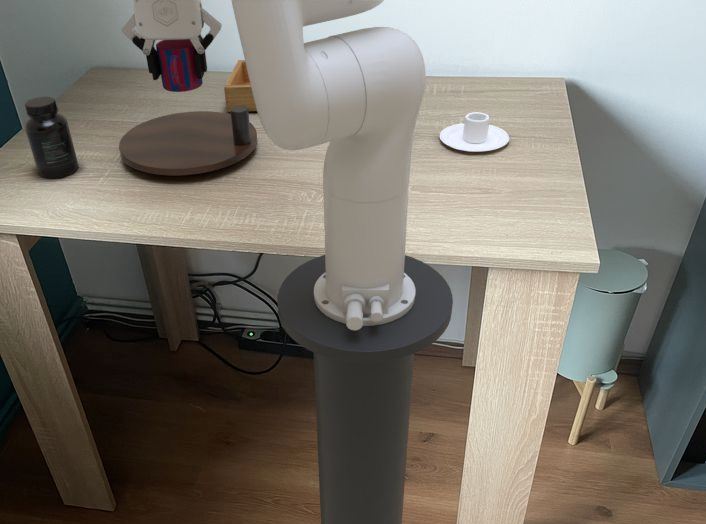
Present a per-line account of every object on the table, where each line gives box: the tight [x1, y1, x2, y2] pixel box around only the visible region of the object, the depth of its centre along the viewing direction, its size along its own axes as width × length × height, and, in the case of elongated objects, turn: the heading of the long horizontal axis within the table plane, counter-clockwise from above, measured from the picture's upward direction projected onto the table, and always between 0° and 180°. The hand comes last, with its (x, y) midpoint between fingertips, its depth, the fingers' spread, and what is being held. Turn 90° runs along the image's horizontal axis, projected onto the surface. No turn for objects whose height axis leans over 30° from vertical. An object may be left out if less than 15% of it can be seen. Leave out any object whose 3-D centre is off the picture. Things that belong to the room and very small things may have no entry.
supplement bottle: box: [24, 95, 79, 179], centre depth 122 cm, size 7×7×12 cm
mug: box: [155, 39, 203, 93], centre depth 119 cm, size 7×10×7 cm
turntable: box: [118, 105, 258, 176], centre depth 125 cm, size 24×24×7 cm
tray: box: [223, 59, 257, 113], centre depth 144 cm, size 31×15×6 cm, turn 84°
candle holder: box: [439, 111, 510, 153], centre depth 127 cm, size 12×12×4 cm
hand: (179, 75), depth 120 cm, fingers closed on mug, 6 cm apart
